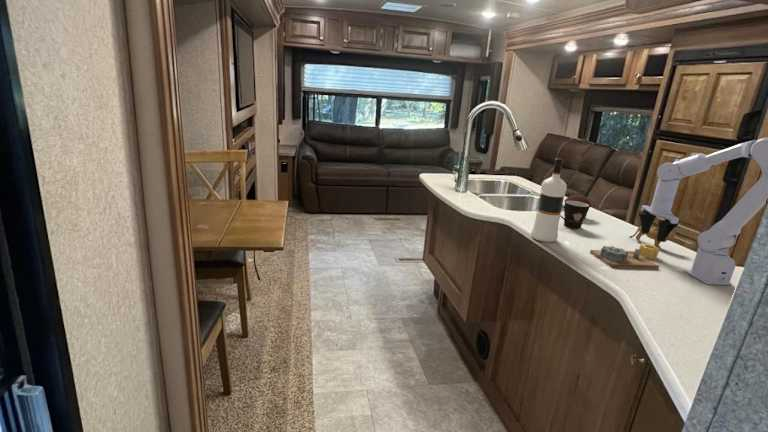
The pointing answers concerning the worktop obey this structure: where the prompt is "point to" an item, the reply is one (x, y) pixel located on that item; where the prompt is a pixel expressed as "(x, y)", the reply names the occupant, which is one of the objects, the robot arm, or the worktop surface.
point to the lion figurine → (653, 235)
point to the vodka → (550, 206)
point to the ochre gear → (649, 251)
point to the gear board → (623, 258)
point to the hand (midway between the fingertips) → (652, 236)
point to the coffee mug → (574, 214)
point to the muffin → (580, 199)
